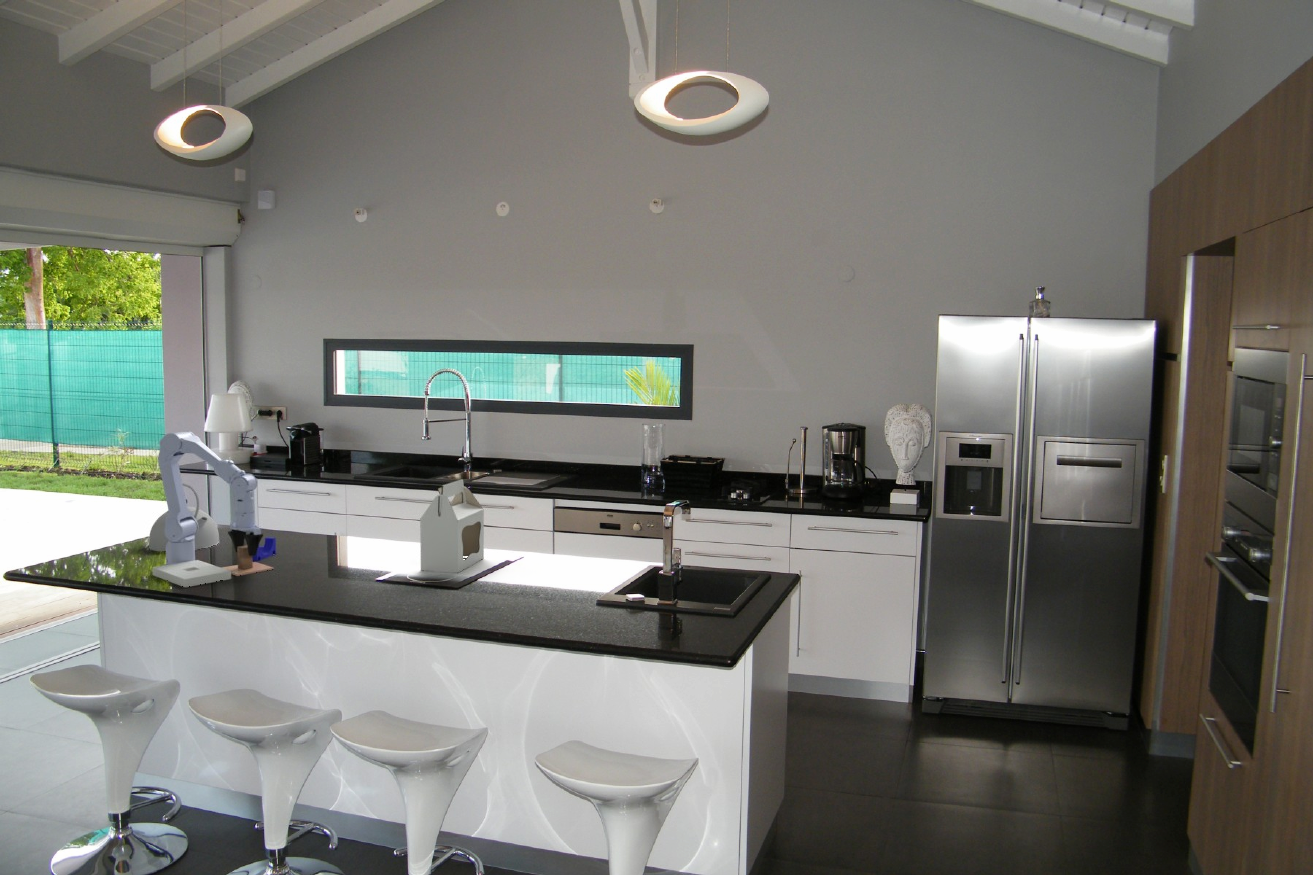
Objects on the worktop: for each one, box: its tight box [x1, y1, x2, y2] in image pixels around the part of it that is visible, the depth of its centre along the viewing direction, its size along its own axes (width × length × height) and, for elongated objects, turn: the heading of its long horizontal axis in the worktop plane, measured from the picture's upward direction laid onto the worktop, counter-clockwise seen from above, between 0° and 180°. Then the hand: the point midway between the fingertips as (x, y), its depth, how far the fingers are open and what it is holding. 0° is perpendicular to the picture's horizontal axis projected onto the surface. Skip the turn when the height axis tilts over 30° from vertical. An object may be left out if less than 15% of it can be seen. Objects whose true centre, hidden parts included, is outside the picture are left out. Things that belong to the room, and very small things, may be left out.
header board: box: [152, 559, 232, 588], centre depth 290 cm, size 22×14×2 cm, turn 51°
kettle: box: [148, 482, 220, 552], centre depth 333 cm, size 25×23×22 cm
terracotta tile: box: [221, 562, 275, 577], centre depth 300 cm, size 12×12×1 cm
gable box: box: [419, 478, 485, 573], centre depth 311 cm, size 22×13×28 cm, turn 168°
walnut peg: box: [236, 544, 253, 570], centre depth 299 cm, size 3×3×7 cm
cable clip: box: [252, 536, 277, 562], centre depth 317 cm, size 12×4×6 cm, turn 173°
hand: (246, 553), depth 300 cm, fingers open, 7 cm apart
